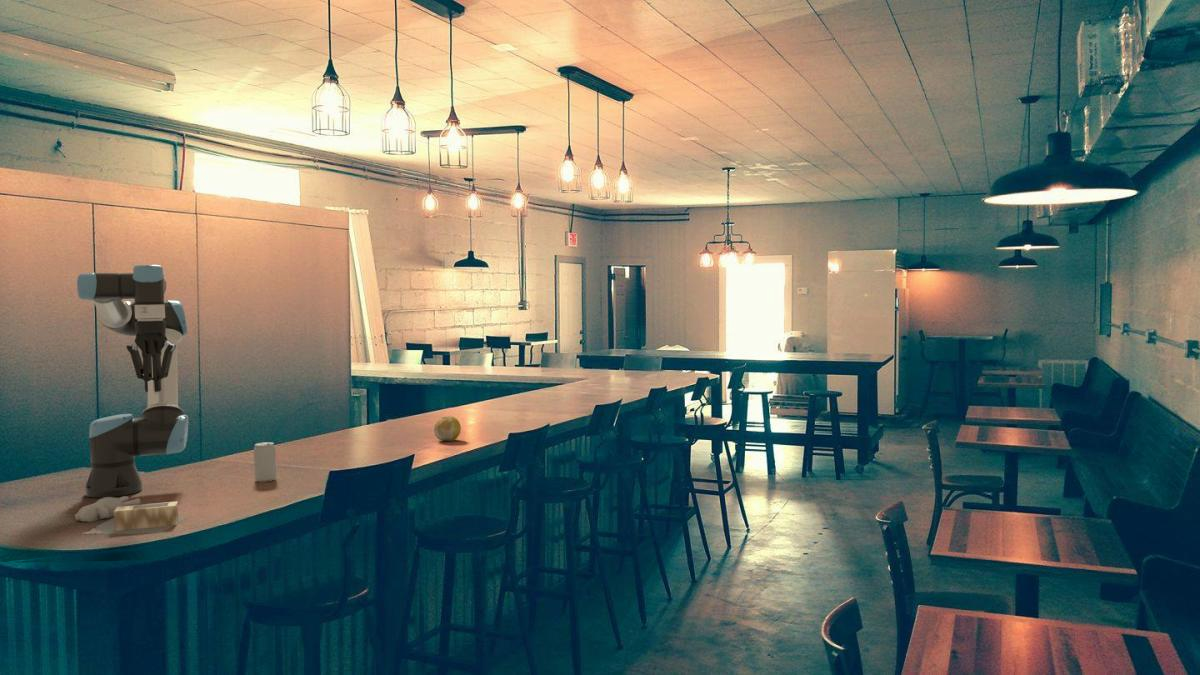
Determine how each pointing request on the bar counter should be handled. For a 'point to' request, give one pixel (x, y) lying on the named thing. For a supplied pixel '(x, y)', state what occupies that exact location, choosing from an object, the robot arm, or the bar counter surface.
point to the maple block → (146, 516)
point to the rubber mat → (110, 529)
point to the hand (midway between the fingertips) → (153, 403)
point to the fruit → (447, 428)
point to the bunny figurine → (103, 508)
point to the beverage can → (264, 462)
